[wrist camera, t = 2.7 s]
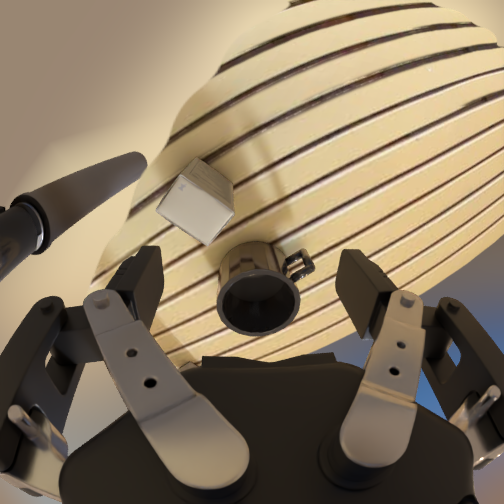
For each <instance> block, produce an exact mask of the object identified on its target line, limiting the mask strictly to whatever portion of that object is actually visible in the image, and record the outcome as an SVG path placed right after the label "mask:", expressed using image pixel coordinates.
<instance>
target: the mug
mask: <svg viewBox="0 0 504 504" xmlns="http://www.w3.org/2000/svg"><path fill="white" fill-rule="evenodd" d="M301 258H302V260H303V262H304V265H305V267H303V268H302V269H300V270H298V271H296V272H295V273H292V271H291V268H290V265H291V264H293V263H294V262H296V261H298V260H299V259H301ZM314 271H315V265H314V263H313V262H312V260H311V258H310V256H309V254H308V252H307V250H306V249H304V248H303V249H300V250H299V251H297V252H295V253H294V254H292V255H290V256H289V257H287V258H286V257H285V255H284V254H283V253H282V252H281V251H280V250H279V249H278V248H276V247H275V246H273V245H271V244H268V243H264V242H247V243H243V244H241V245H238V246H236V247H235V248H233V249H232V250H230V251H229V252H228V253H227V254H226V256H225V257H224V259H223V260H222V263H221V265H220V270H219V278H218V289H217V312H218V314H219V316H220V319H221V321H222V322H223V323H224V324H225V325H226V326H227V327H228V328H229V329H231V330H233V331H235V332H237V333H239V334H243V335H247V336H265V335H269V334H274V333H276V332H278V331H280V330H282V329H284V328H285V327H286V326H287V325H289V324H290V323H291V322H292V321H293V320H294V318H295V316H296V315H297V313H298V311H299V306H300V300H301V299H300V295H299V290H298V287H297V284H296V282H297V281H298V280H300V279H302V278H304V277H305V276H307V275H309V274H310V273H312V272H314Z"/></svg>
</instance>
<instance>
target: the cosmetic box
mask: <svg viewBox="0 0 504 504" xmlns="http://www.w3.org/2000/svg"><path fill="white" fill-rule="evenodd" d="M156 212H157V213H159V214H160V215H161V216H162V217H164V218H165V219H166V220H168V221H169V222H171V223H172V224H174V225H175V226H176V227H178V228H179V229H181V230H182V231H184V232H185V233H187V234H188V235H190V236H192V237H193V238H195V239H196V240H198V241H199V242H201V243H203V244H204V245H206V246H208V245H209V244H210V243H211V242H212V241H213V240H214V239H215V238H216V236H217V235H218V234H219V233H220V232H221V231H222V230H223V228H224V227H225V226H226V225H227V224H228V223H229V221H230V220H231V219H232V218H233V217H234V215H235V210H234V195H233V183H232V182H230V181H229V180H228V179H227V178H225V177H224V176H223V175H222V174H220V173H219V172H218V171H216V170H215V169H213V168H212V167H211V166H209V165H208V164H206V163H205V162H203V161H202V160H200V159H199V158H197V157H195V158H194V159H193V160H192V162H191V163H190V164H189V165H188V166H187V167H186V168H185V169H184V170H183V172H182V173H181V174H180V175H179V176H178V177H177V179H176V180H175V181H174V183H173V184H172V185H171V187H170V188H169V190H168V191H167V193H166V194H165V195H164V197H163V198H162V200H161V202H160V203H159V205H158V207H157V208H156Z"/></svg>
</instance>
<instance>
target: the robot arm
mask: <svg viewBox="0 0 504 504" xmlns="http://www.w3.org/2000/svg"><path fill="white" fill-rule="evenodd" d="M44 238H45V226H44V221H43V219H42V216H41V214H40V212H39V211H38V210H37V208H36V207H35V206H34V205H32V204H31V203H29V202H26V201H23V202H20V203H18V204H16V205H15V206H13V207H12V208H10V209H8V210H5V207H3V206H0V281H2V280H3V279H4V278H5V277H6V276H7V275H8V274H9V273H10V272H11V271H12V270H13V269H14V268H15V267H16V266H17V265H18V264H19V263H21V262H22V261H23V260H24V259H25V258H26V257H28V256H29V255H30V254H31V253H32V252H33V251H35V250H37V249H38V248H39V247H40V246H41V245H42V244H43V242H44ZM335 287H336V292H337V294H338V296H339V298H340V300H341V302H342V303H343V305H344V307H345V309H346V311H347V313H348V315H349V316H350V318H351V320H352V322H353V324H354V326H355V328H356V330H357V332H358V334H359V336H360V338H361V339H362V340H370V339H373V340H374V342H373V345H372V347H371V349H370V352H369V355H368V357H367V360H366V362H365V364H364V367H363V369H361V368H360V367H357V366H354V365H352V364H348V363H343V362H337V361H336V358H335V356H334V353H333V352H331V353H320V354H306V355H300V356H296V357H293V358H289V359H285V360H281V361H277V362H262V361H256V360H251V359H245V358H240V357H216V356H202V365H201V366H197V367H193V368H189V369H186V370H184V371H181V372H179V371H178V370H177V368H176V367H175V366H174V365H173V363H172V362H171V361H170V359H169V358H168V357H167V355H166V354H165V353H164V351H163V350H162V349H161V347H160V346H159V345H158V343H157V342H156V340H155V339H154V338H153V336H152V335H151V333H150V332H149V331H150V328H151V325H152V322H153V319H154V316H155V313H156V310H157V307H158V304H159V302H160V299H161V296H162V293H163V289H164V274H163V266H162V257H161V249H160V247H159V246H142V247H141V248H140V250H139V251H138V253H137V254H136V256H131V257H129V258H128V259H126V260H125V261H123V262H122V264H121V265H120V267H119V270H117V271H116V273H115V275H114V276H113V277H112V279H111V280H110V282H109V283H108V285H107V286H106V288H105V289H102V290H98V291H95V292H93V293H91V294H89V295H88V296H87V297H86V298H85V299H84V301H83V305H82V306H75V307H68V308H65V305H64V302H63V300H62V299H61V298H60V297H57V296H49V297H45V298H43V299H41V300H39V301H38V302H37V303H36V304H34V306H33V307H32V308H31V310H30V311H29V313H28V314H27V315H26V317H25V318H24V319H23V321H22V322H21V324H20V325H19V327H18V328H17V330H16V331H15V333H14V334H13V336H12V338H11V339H10V340H9V342H8V344H7V345H6V347H5V349H4V350H3V352H2V353H1V355H0V477H1V478H2V479H4V480H5V481H7V482H8V483H10V484H11V485H13V486H15V487H17V488H19V489H21V490H23V491H24V492H26V493H28V494H29V495H32V496H37V497H38V496H43V495H44V496H47V497H49V498H52V499H54V500H57V501H59V502H62V504H479V503H478V501H477V499H476V496H475V491H474V481H473V470H480V469H482V468H483V467H485V466H486V465H487V464H488V463H490V462H491V461H493V460H494V459H495V458H496V457H497V456H499V455H500V454H501V453H503V452H504V354H503V353H502V352H501V350H500V349H499V348H498V346H497V345H496V344H495V342H494V341H493V340H492V339H491V337H490V336H489V335H488V333H487V332H486V331H485V330H484V328H483V327H482V326H481V325H480V324H479V322H478V321H477V320H476V319H475V318H474V316H473V315H472V314H471V313H470V312H469V310H468V309H467V308H466V307H465V306H464V305H463V304H462V303H461V302H459V301H458V300H456V299H453V298H450V297H443V298H441V299H440V301H439V303H438V306H437V308H435V307H429V306H423V301H422V300H421V299H420V298H419V296H417V295H416V294H414V293H412V292H409V291H406V290H399V289H398V288H397V287H396V286H395V284H394V283H393V282H392V281H391V280H390V279H389V278H387V275H386V274H385V273H383V270H382V269H381V268H380V267H379V266H378V265H377V264H375V263H374V262H372V261H370V260H369V259H368V258H367V257H366V256H365V255H364V254H363V253H362V252H361V250H359V249H344V250H343V251H342V253H341V257H340V262H339V267H338V271H337V276H336V282H335ZM453 341H454V343H455V344H456V346H457V347H458V349H459V350H460V353H461V359H460V362H459V364H458V365H457V367H456V366H455V364H454V362H453V361H452V359H451V357H450V356H449V354H448V353H447V351H448V349H449V347H450V345H451V344H452V342H453ZM49 351H50V353H51V355H52V356H51V358H50V360H49V362H48V364H47V366H46V368H45V360H46V357H47V355H48V353H49ZM97 361H104V362H105V364H106V367H107V369H108V371H109V373H110V375H111V377H112V379H113V381H114V383H115V385H116V388H117V389H118V391H119V393H120V395H121V397H122V399H123V401H124V403H125V405H126V407H127V409H128V411H127V412H126V413H124V414H123V415H122V416H120V417H119V418H118V419H117V420H115V421H114V422H113V423H111V424H110V425H109V426H108V427H106V428H105V429H103V430H102V431H101V432H99V433H98V434H97V435H95V436H94V437H93V438H91V439H90V440H89V441H87V442H86V443H85V444H83V445H82V446H81V447H79V448H78V449H76V450H75V451H74V452H73V453H71V454H70V456H68V445H67V442H66V439H65V438H64V436H63V435H62V433H63V429H64V426H65V422H66V419H67V416H68V412H69V409H70V406H71V403H72V400H73V397H74V394H75V391H76V388H77V385H78V382H79V380H80V377H81V374H82V371H83V369H84V366H85V363H88V362H97ZM421 368H422V370H423V372H424V374H425V376H426V378H427V380H428V382H429V384H430V385H431V387H432V389H433V391H434V393H435V396H436V398H437V400H438V402H439V404H440V406H441V408H442V410H443V412H444V414H445V416H446V418H447V420H445V419H443V418H441V417H440V416H438V415H436V414H435V413H433V412H431V411H430V410H428V409H426V408H425V407H423V406H421V405H420V404H418V403H417V402H415V398H416V393H417V388H418V383H419V376H420V372H421Z"/></svg>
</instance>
